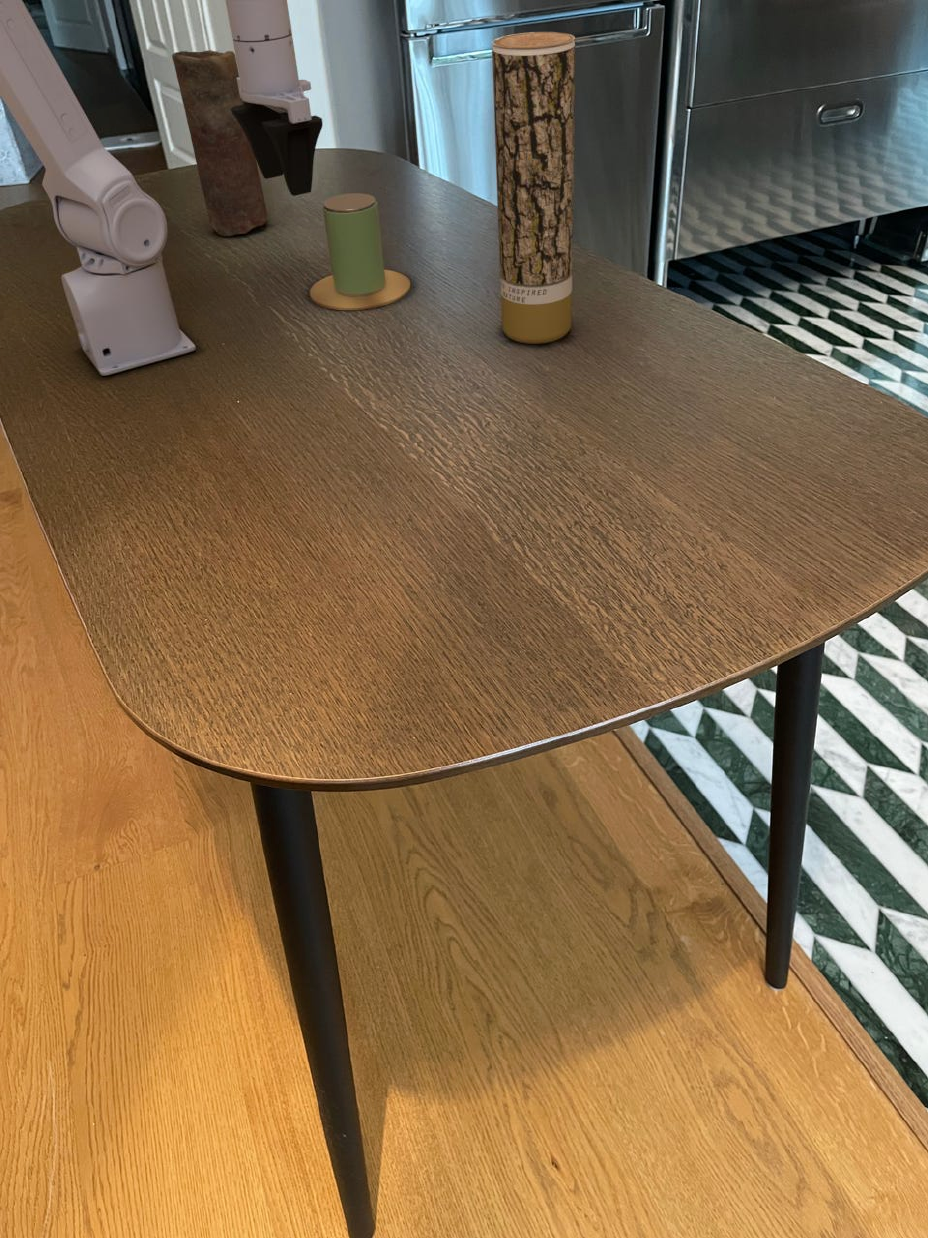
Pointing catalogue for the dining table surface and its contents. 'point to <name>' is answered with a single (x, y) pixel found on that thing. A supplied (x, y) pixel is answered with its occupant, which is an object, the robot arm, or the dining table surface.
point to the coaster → (330, 298)
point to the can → (354, 244)
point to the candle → (220, 141)
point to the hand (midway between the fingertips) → (286, 184)
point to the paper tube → (535, 181)
